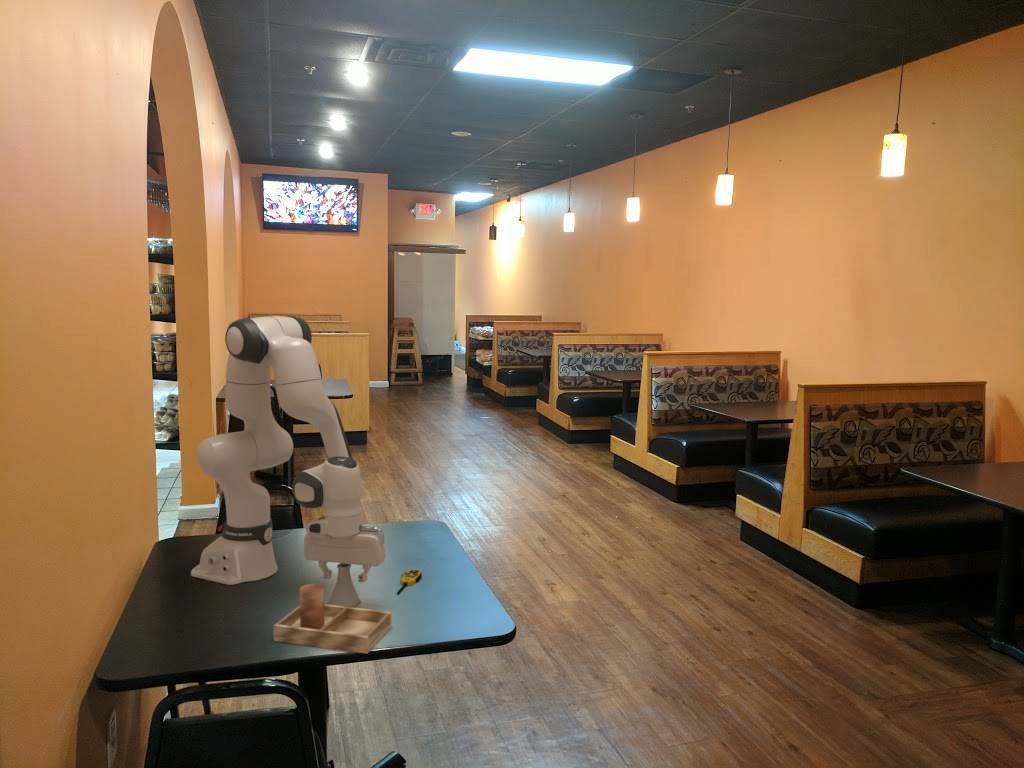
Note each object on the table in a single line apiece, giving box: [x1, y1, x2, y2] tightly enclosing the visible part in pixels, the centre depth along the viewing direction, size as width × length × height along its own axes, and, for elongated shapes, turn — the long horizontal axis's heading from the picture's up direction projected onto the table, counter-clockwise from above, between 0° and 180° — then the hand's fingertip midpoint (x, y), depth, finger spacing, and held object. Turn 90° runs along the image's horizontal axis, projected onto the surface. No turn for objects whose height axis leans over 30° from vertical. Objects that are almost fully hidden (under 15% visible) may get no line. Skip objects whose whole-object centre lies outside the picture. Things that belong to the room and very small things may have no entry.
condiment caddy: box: [272, 583, 393, 655], centre depth 160 cm, size 22×13×10 cm, turn 76°
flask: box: [328, 563, 362, 608], centre depth 176 cm, size 7×7×10 cm
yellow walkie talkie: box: [396, 568, 423, 595], centre depth 189 cm, size 5×2×15 cm
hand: (345, 579), depth 175 cm, fingers open, 8 cm apart
